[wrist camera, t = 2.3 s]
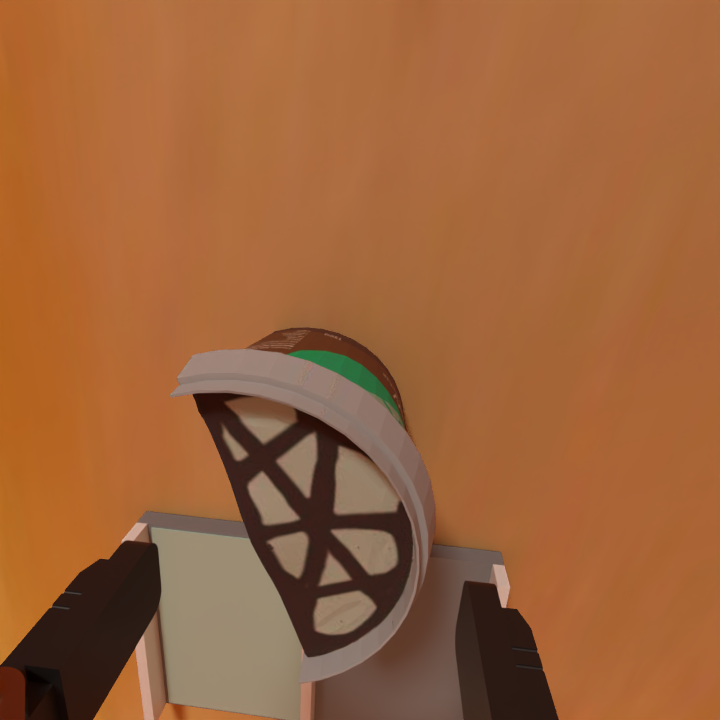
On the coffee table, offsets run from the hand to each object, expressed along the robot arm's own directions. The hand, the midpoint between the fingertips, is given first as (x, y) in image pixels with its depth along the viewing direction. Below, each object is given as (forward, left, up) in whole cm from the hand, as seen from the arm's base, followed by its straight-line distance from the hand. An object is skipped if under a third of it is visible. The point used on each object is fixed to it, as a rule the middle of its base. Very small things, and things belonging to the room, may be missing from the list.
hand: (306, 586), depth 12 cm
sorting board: (+2, +15, -12) cm, 20 cm away
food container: (0, 0, -12) cm, 12 cm away
